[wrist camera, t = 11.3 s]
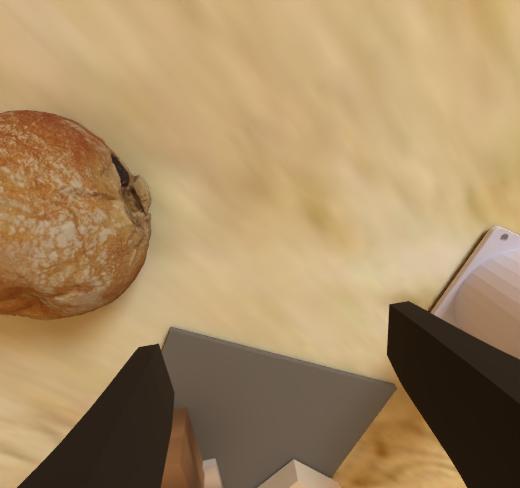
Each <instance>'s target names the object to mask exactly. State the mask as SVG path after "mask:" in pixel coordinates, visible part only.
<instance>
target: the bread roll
mask: <svg viewBox="0 0 520 488" xmlns="http://www.w3.org/2000/svg"><path fill="white" fill-rule="evenodd" d="M150 204H151V196H150V192H149V188H148V186H147V183H146V182H145V181H144V180H143V178H142V177H141V176H140V175H138V176H135V177H134V176H133V175H132V174H131V173H130V171H129V169H128V168H127V167H126V165H125V164H124V163H123V162H122V161H121V160H120V159H119V157H118V156H117V155H116V154H115V153H114V152H113V151H112V150H111V149H110V148H109V147H108V146H107V145H106V144H105V142H104V141H103V139H101V138H99V137H97V136H96V135H94V134H93V133H92V132H90V131H89V130H88V129H86V128H85V127H84V126H82V125H80V124H79V123H77V122H75V121H73V120H71V119H67V118H64V117H61V116H58V115H55V114H50V113H46V112H38V111H28V110H23V111H8V112H3V113H0V315H15V316H16V315H19V316H26V317H30V318H31V319H39V320H51V319H59V318H65V317H72V316H77V315H82V314H85V313H87V312H91V311H94V310H96V309H98V308H99V307H102V306H105V305H107V304H109V303H111V302H113V301H114V300H115V299H117V298H118V297H119V296H120V295H121V294H122V293H124V292H125V291H126V289H127V288H128V287H129V286H130V285H131V283H132V282H133V281H134V280H135V278H136V277H137V275H138V273H139V272H140V270H141V268H142V266H143V265H144V262H145V259H146V253H147V249H148V246H149V239H150V236H151V225H150V221H151V214H150V213H148V212H147V211H148V207H149V206H150Z"/></svg>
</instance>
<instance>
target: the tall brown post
mask: <svg viewBox="0 0 520 488" xmlns="http://www.w3.org/2000/svg"><path fill="white" fill-rule="evenodd" d="M161 488H224V487H223V484H222V480H221V477H220V473H219V470H218V466H217V463H216V459H209V460H204V461H203V459H202V456H201V452H200V449H199V446H198V443H197V440H196V436H195V433H194V430H193V427H192V424H191V420H190V417H189V414H188V411H187V407H186V408H180V409H175V410H173V422H172V430H171V436H170V442H169V447H168V452H167V458H166V463H165V468H164V473H163V479H162V484H161Z"/></svg>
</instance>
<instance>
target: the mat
mask: <svg viewBox="0 0 520 488" xmlns="http://www.w3.org/2000/svg"><path fill="white" fill-rule="evenodd" d="M162 355H163V358H164V362H165V365H166V368H167V371H168V374H169V377H170V380H171V383H172V386H173V389H174V392H175V394H174V410H175V409H180V408H186V407H187V411H188V414H189V417H190V420H191V424H192V427H193V430H194V433H195V436H196V440H197V443H198V446H199V449H200V452H201V456H202V459H203V461H204V460H209V459H216V463H217V466H218V470H219V473H220V477H221V480H222V484H223V487H224V488H257V487H259V486H260V485H261V484H262V483H264V482H265V481H266V480H268V479H269V478H270V477H271V476H273V475H274V474H275V473H277V472H278V471H279V470H280V469H282V468H283V467H284V466H286V465H287V464H288V463H289V462H291V461H292V460H293V459H294V460H296V461H298V462H300V463H302V464H304V465H306V466H308V467H310V468H312V469H313V470H315V471H317V472H319V473H321V474H323V475H325V476H327V477H329V478H331V477H332V476H333V474H334V473H335V472H336V470H337V469H338V467H339V466H340V465H341V463H342V462H343V461H344V459H345V458H346V457H347V455H348V454H349V453H350V451H351V450H352V449H353V447H354V446H355V445H356V443H357V442H358V440H359V439H360V438H361V436H362V435H363V434H364V432H365V431H366V430H367V428H368V427H369V426H370V424H371V423H372V422H373V420H374V419H375V417H376V416H377V415H378V413H379V412H380V411H381V409H382V408H383V407H384V405H385V404H386V403H387V401H388V400H389V399H390V397H391V396H392V395H393V393H394V392H395V390H396V389H397V388H396V386H395V385H394V384H390V383H387V382H383V381H379V380H375V379H371V378H367V377H363V376H359V375H356V374H352V373H348V372H344V371H340V370H336V369H332V368H328V367H325V366H321V365H317V364H313V363H309V362H305V361H301V360H297V359H293V358H290V357H286V356H282V355H278V354H274V353H270V352H266V351H262V350H259V349H255V348H251V347H247V346H243V345H239V344H235V343H231V342H228V341H224V340H220V339H216V338H212V337H208V336H204V335H200V334H196V333H193V332H189V331H185V330H181V329H177V328H173V327H171V328H170V331H169V333H168V336H167V339H166V341H165V344H164V346H163V349H162Z"/></svg>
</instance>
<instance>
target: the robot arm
mask: <svg viewBox="0 0 520 488" xmlns="http://www.w3.org/2000/svg"><path fill="white" fill-rule="evenodd" d="M502 235H503V237H502V238H501V236H502ZM387 356H388V358H389V360H390V362H391V364H392V366H393V368H394V370H395V372H396V374H397V376H398V378H399V380H400V382H401V384H402V386H403V387H404V389H405V391H406V392H407V394H408V395H409V397H410V398H411V400H412V401H413V403H414V404H415V406H416V407H417V409H418V411H419V412H420V414H421V415H422V417H423V418H424V420H425V421H426V423H427V424H428V426H429V427H430V429H431V430H432V432H433V433H434V435H435V436H436V438H437V439H438V441H439V442H440V444H441V445H442V447H443V448H444V450H445V451H446V453H447V454H448V456H449V457H450V459H451V461H452V462H453V464H454V466H455V467H456V469H457V470H458V472H459V474H460V475H461V477H462V479H463V481H464V483H465V484H466V486H467V488H520V235H518V234H516V233H513V232H511V231H509V230H507V229H505V228H502V227H500V226H493V227H492V228H490V229H489V230H488V232H487V233H486V235H485V236H484V238H483V239H482V240H481V242H480V243H479V245H478V246H477V247H476V249H475V250H474V252H473V253H472V254H471V256H470V257H469V259H468V260H467V261H466V263H465V264H464V266H463V267H462V269H461V270H460V271H459V273H458V274H457V276H456V277H455V278H454V280H453V281H452V283H451V284H450V285H449V287H448V288H447V290H446V291H445V292H444V294H443V295H442V297H441V298H440V299H439V301H438V302H437V304H436V305H435V307H434V308H433V309H432V311H431V312H428V311H426V310H424V309H422V308H421V307H419V306H417V305H415V304H413V303H411V302H409V301H407V302H401V303H396V304H390V305H389V324H388V344H387ZM174 394H175V392H174V389H173V386H172V383H171V380H170V377H169V374H168V371H167V368H166V365H165V362H164V358H163V355H162V352H161V349H160V346H159V344H155V345H149V346H143V347H138V349H137V350H136V351H135V352H134V354H133V355H132V356H131V357H130V359H129V360H128V361H127V363H126V364H125V365H124V366H123V368H122V369H121V370H120V372H119V373H118V374H117V375H116V377H115V378H114V379H113V381H112V382H111V383H110V384H109V386H108V387H107V388H106V389H105V391H104V392H103V393H102V394H101V396H100V397H99V398H98V399H97V401H96V402H95V403H94V404H93V406H92V407H91V408H90V409H89V410H88V412H87V413H86V414H85V415H84V416H83V417H82V418H81V420H80V421H79V422H78V423H77V424H76V425H75V427H74V428H73V429H72V430H71V431H70V432H69V433H68V435H67V436H66V437H65V438H64V439H63V440H62V441H61V443H60V444H59V445H58V446H57V447H56V448H55V449H54V450H53V451H52V452H51V453H50V454H49V456H48V457H47V458H46V459H45V460H44V461H43V462H42V463H41V464H40V465H39V466H38V467H37V468H36V469H35V470H34V471H33V472H32V473H31V474H30V475H29V476H28V477H27V478H26V479H25V480H24V481H23V482H22V483H21V484H20V485H19V486H18V487H17V488H161V484H162V479H163V473H164V468H165V463H166V458H167V452H168V447H169V442H170V436H171V430H172V422H173V410H174Z"/></svg>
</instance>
